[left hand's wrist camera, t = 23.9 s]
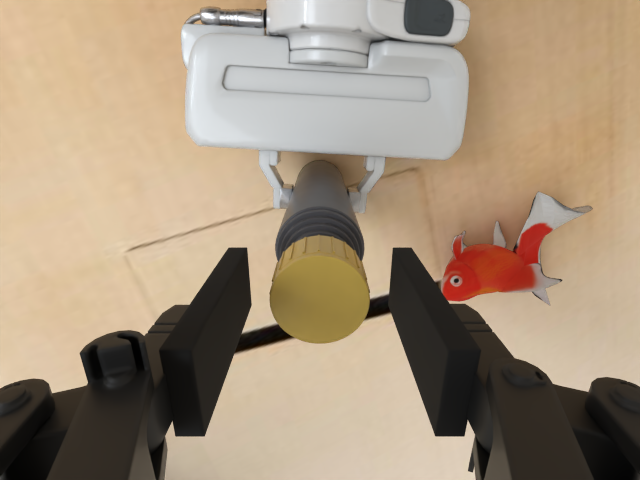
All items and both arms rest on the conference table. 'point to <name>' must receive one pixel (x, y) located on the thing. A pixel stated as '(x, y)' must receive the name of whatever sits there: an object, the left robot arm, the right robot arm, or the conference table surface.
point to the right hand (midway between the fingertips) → (319, 209)
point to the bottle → (319, 210)
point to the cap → (319, 290)
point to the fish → (507, 257)
